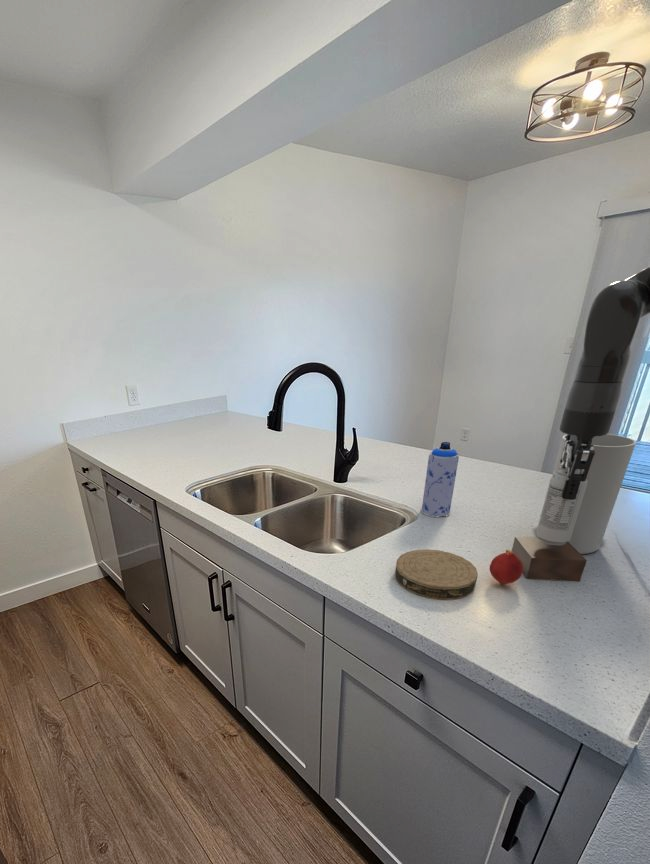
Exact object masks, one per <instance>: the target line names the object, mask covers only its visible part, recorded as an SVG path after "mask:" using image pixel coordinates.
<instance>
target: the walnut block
mask: <svg viewBox="0 0 650 864" xmlns="http://www.w3.org/2000/svg"><path fill="white" fill-rule="evenodd" d="M511 551H512V552H513V553H514V554H515V555H516V556H518V557H519V559H520V560H521V562H522V564H523V573H522V575H523V576H524V578H525V579H528V580H545V581H562V582H563V581H565V582H581V579H582V576H583V574H584V570H585V568H586V565H587V561H588V560H587V559H586V558H585V556H583V554H580V553H579V552H578V551H577V550H576V549H575V548H574V547H573V546H572V545H571V544H570V543H569V542H568V541H567V542H566V543H565V544H564V545H550V544H546V543H543V542H541V541H540V540H539V539H538V538H537V536H536V537H535V536H534V537H531V536H515V537H514V540H513V543H512V547H511Z"/></svg>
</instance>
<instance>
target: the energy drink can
mask: <svg viewBox="0 0 650 864" xmlns="http://www.w3.org/2000/svg"><path fill="white" fill-rule="evenodd" d="M567 471H568V469H567V468H560V469H557V470H556V473H555V474H554V475H553V474H552V475H553V476H551V477H550V479H549V482H548V487H547V489H546V490H547V491H546V494H545V498H544V501H543V506H542V509H541V512H540V518H539V520H538V523H537V527H536V532H535V534H536V535H537V536H538V539H539V540H540V541H541V542H543V543H546V544H550V545H564V544H565V543H566V542H567V541H569V540H570V539H571V535H572V532H573V529H574V526H575V522H576V519H577V516H578V513H579V509H580V506H581V503H582V500H583V496H584V493H585V490H586V487H587V483H588V481H587V478H586V480H585V481H582V482H580V485H579V489H578V492H577V495H576V498H575V499H574V500H570V499H563V498H562V492H563V489H564V485H565V481H566V476H567ZM574 474H580V470H579V469H576V470H575V473H574ZM536 535H535V536H536ZM537 536H536V537H537Z"/></svg>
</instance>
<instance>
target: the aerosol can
mask: <svg viewBox="0 0 650 864" xmlns="http://www.w3.org/2000/svg"><path fill="white" fill-rule="evenodd" d="M427 459H428V460H427V466H426V473H425V474H426V475H425V482H424V488H423V497H422V504H421V508H420V512H421V514H423V513H424V514H426V515H425V516H427V515H430V516H446V515H449V514H450V515H451V512H452V511H451V507H452V502H453V495H454V490H455V483H456V477H457V471H458V465H459V459H460V455H459V453H458V452H457V450H456V449H454V448H453V447H451V442H449V441H443V442H441V443H440V446H438V447H436V448H434V449H433V450H432V451H431V452H430V453H429V455H428V458H427ZM424 514H423V515H424ZM450 515H449V516H450ZM430 516H429V517H430ZM446 517H447V516H446Z"/></svg>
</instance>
